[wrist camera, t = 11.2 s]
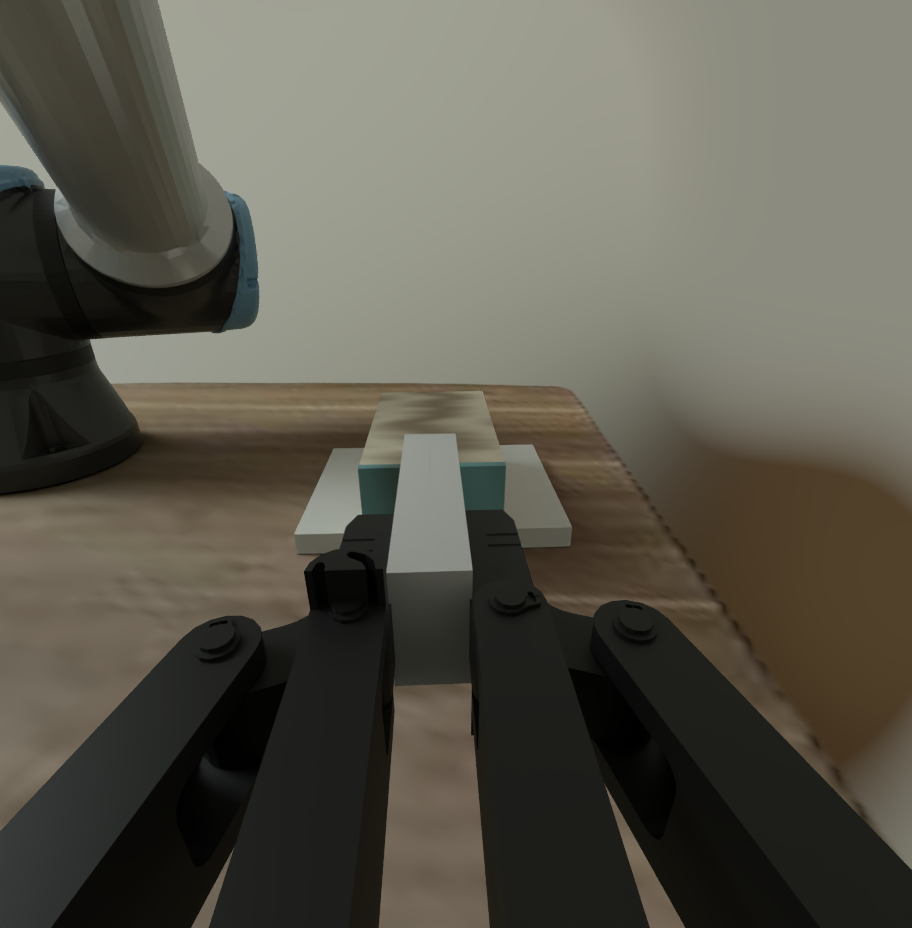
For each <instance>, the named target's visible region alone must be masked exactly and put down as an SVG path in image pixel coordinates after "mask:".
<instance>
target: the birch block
mask: <svg viewBox="0 0 912 928" xmlns="http://www.w3.org/2000/svg"><path fill="white" fill-rule="evenodd" d="M452 433H455V434H456V442H457V450H458V458H459V466H460V474H461V482H462V490H463V498H464V506H465V510H497V509H503V510H504V500H505V478H506V464H505V461H504V458H503V455H502V451H501V448H500V445H499V442H498V439H497V436H496V433H495V430H494V426H493V423H492V420H491V417H490V414H489V411H488V408H487V404H486V401H485V398H484V395H483V392H482V391H469V392H400V393H382V394H381V397H380V400H379V404H378V407H377V410H376V413H375V416H374V419H373V422H372V425H371V429H370V432H369V435H368V438H367V441H366V444H365V447H364V450H363V454H362V457H361V460H360V463H359V466H358V477H359V488H360V498H361V508H362V515H364V514H394V511H395V503H396V496H397V488H398V481H399V473H400V466H401V458H402V450H403V443H404V435H405V434H452Z"/></svg>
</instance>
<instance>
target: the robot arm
mask: <svg viewBox="0 0 912 928" xmlns="http://www.w3.org/2000/svg"><path fill="white" fill-rule="evenodd" d="M0 102H1V103H2V105H3V106H4V108H5V109H6V111H7V112H8V114H9V115H10V117H11V118H12V120H13V121H14V123H15V124H16V126H17V127H18V129H19V130H20V132H21V133H22V135H23V136H24V138H25V139H26V141H27V142H28V144H29V145H30V147H31V148H32V149H33V151H34V153H35V154H36V156H37V157H38V159H39V160H40V162H41V163H42V164H43V166H44V167H45V169H46V171H47V172H48V173H49V175H50V177H51V178H52V180H53V181H54V182H55V184H56V189H45V188H44V184H43V182H42V181H41V180H40V179H39V178H38V176H37V175H36V174H35V173H34V172H33V171H32V170H30V169H27V168H23V167H18V166H8V165H0V493H10V492H17V491H24V490H30V489H35V488H41V487H45V486H50V485H54V484H58V483H62V482H66V481H70V480H73V479H77V478H80V477H83V476H86V475H89V474H92V473H95V472H97V471H100V470H103V469H105V468H107V467H110V466H112V465H114V464H116V463H118V462H120V461H122V460H124V459H125V458H127V457H129V456H130V455H132V454H133V453H134V452H135V451H136V450H137V449H138V448H139V447H140V446H141V444H142V437H141V434H140V430H139V427H138V423H137V421H136V418H135V417H134V415H133V414H132V413H131V412H130V411H129V410H128V408H127V407H126V405H125V404H124V402H123V401H122V399H121V398H120V396H119V395H118V394H117V392H116V391H115V389H114V388H113V387H112V385H111V384H110V383H109V381H108V380H107V378H106V377H105V376H104V374H103V373H102V372H101V370H100V368H99V367H98V365H97V362H96V359H95V356H94V353H93V349H92V346H91V343H90V339H100V338H113V337H129V336H146V335H162V334H179V333H196V332H212V333H221V332H224V331H226V330H233V329H242V328H246V327H248V326H250V325H251V324H252V323H253V322H254V321H255V319H256V317H257V314H258V308H259V285H258V281H257V278H258V262H257V253H256V244H255V237H254V232H253V226H252V221H251V216H250V213H249V209H248V207H247V205H246V203H245V201H244V200H243V199H242V198H241V197H240V196H238V195H236V194H230V193H228V192H226V191H223V189H222V187H221V186H220V184H219V183H218V182H217V180H216V179H215V178H214V177H213V176H212V175H211V174H210V173H209V171H207V170H206V169H205V168H204V167H203V166H202V165H201V164H199V163H198V160H197V155H196V151H195V147H194V143H193V139H192V135H191V131H190V127H189V123H188V120H187V116H186V112H185V108H184V104H183V100H182V96H181V92H180V88H179V84H178V80H177V76H176V72H175V68H174V64H173V60H172V56H171V52H170V48H169V44H168V40H167V36H166V32H165V28H164V25H163V21H162V17H161V12H160V9H159V5H158V1H157V0H0ZM304 575H305V581H306V587H307V593H308V599H309V605H310V612H309V615H308V616H306V617H304V618H303V619H301V620H299V621H297V622H294V623H291V624H288V625H285V626H282V627H278V628H274V629H270V630H267V631H263V632H261V627H260V626H259V625H258V624H257V623H256V622H255V621H254V620H253V619H250V618H247V617H244V616H224V617H221V618H217V619H213V620H210V621H208V622H206V623H204V624H202V625H199V626H197V627H195V628H194V629H193V630H192V631H190V632H189V633H188V634H187V635H185V636H184V637H183V638H182V639H181V640H180V641H179V642H178V643H177V644H176V645H175V646H174V647H173V648H172V649H171V650H170V652H169V653H168V654H167V655H166V656H165V657H164V658H163V659H162V660H161V661H160V662H159V663H158V664H157V665H156V666H155V667H154V668H153V670H152V671H151V672H150V673H149V674H148V675H147V676H146V677H145V678H144V679H143V680H142V681H141V682H140V683H139V684H138V685H137V687H136V688H135V689H134V690H133V691H132V692H131V693H130V694H129V695H128V696H127V697H126V698H125V699H124V700H123V701H122V702H121V704H120V705H119V706H118V707H117V708H116V709H115V710H114V711H113V712H112V713H111V714H110V715H109V716H108V717H107V718H106V719H105V721H104V722H103V723H102V724H101V725H100V726H99V727H98V728H97V729H96V730H95V731H94V732H93V733H92V734H91V735H90V736H89V738H88V739H87V740H86V741H85V742H84V743H83V744H82V745H81V746H80V747H79V748H78V749H77V750H76V751H75V752H74V753H73V755H72V756H71V757H70V758H69V759H68V760H67V761H66V762H65V763H64V764H63V765H62V766H61V767H60V768H59V769H58V770H57V772H56V773H55V774H54V775H53V776H52V777H51V778H50V779H49V780H48V781H47V782H46V783H45V784H44V785H43V786H42V787H41V789H40V790H39V791H38V792H37V793H36V794H35V795H34V796H33V797H32V798H31V799H30V800H29V801H28V802H27V803H26V804H25V806H24V807H23V808H22V809H21V810H20V811H19V812H18V813H17V814H16V815H15V816H14V817H13V818H12V819H11V820H10V821H9V823H8V824H7V825H6V826H5V827H4V828H3V829H2V830H1V831H0V928H191V927H192V925H193V923H194V921H195V919H196V917H197V915H198V914H199V912H200V910H201V908H202V906H203V904H204V902H205V900H206V899H207V897H208V895H209V893H210V891H211V889H212V887H213V885H214V884H215V882H216V880H217V878H218V876H219V874H220V872H221V870H222V869H223V867H224V865H225V863H226V861H227V859H228V857H229V855H230V854H231V852H232V850H233V848H234V850H233V853H232V857H231V860H230V863H229V866H228V869H227V872H226V875H225V879H224V882H223V885H222V888H221V891H220V894H219V897H218V900H217V904H216V907H215V910H214V913H213V916H212V919H211V922H210V926H209V928H379V915H380V902H381V888H382V875H383V861H384V847H385V834H386V820H387V806H388V793H389V779H390V765H391V752H392V738H393V725H394V699H393V685H394V680H395V686H411V685H436V684H460V683H472V712H471V735H474V743H475V755H476V767H477V779H478V791H479V803H480V815H481V827H482V839H483V851H484V863H485V875H486V887H487V899H488V911H489V923H490V928H650V927H649V924H648V921H647V918H646V915H645V911H644V908H643V905H642V902H641V899H640V895H639V892H638V889H637V886H636V883H635V880H634V876H633V873H632V870H631V867H630V864H629V861H628V857H627V854H626V851H625V848H624V845H623V841H622V838H621V835H620V832H619V829H618V826H617V822H616V819H615V816H614V813H613V810H612V806H611V803H610V800H609V797H608V794H607V791H606V787H607V789H608V790H609V792H610V794H611V796H612V798H613V799H614V801H615V803H616V805H617V806H618V808H619V810H620V812H621V814H622V815H623V817H624V819H625V821H626V823H627V824H628V826H629V828H630V830H631V831H632V833H633V835H634V837H635V839H636V840H637V842H638V844H639V846H640V848H641V849H642V851H643V853H644V855H645V856H646V858H647V860H648V862H649V864H650V865H651V867H652V869H653V871H654V872H655V874H656V876H657V878H658V880H659V881H660V883H661V885H662V887H663V889H664V890H665V892H666V894H667V896H668V897H669V899H670V901H671V903H672V905H673V906H674V908H675V910H676V912H677V914H678V915H679V917H680V919H681V921H682V922H683V924H684V926H685V928H912V870H911V869H910V868H909V867H908V866H907V865H906V864H905V863H904V862H903V861H902V860H901V858H900V857H899V856H898V855H897V854H896V853H895V852H894V851H893V850H892V849H891V848H890V847H889V846H888V845H887V844H886V843H885V842H884V841H883V840H882V839H881V838H880V837H879V836H878V835H877V834H876V833H875V832H874V831H873V830H872V829H871V828H870V826H869V825H868V824H867V823H866V822H865V821H864V820H863V819H862V818H861V817H860V816H859V815H858V814H857V813H856V812H855V811H854V810H853V809H852V808H851V807H850V806H849V805H848V804H847V803H846V802H845V801H844V800H843V799H842V798H841V797H840V796H839V795H838V793H837V792H836V791H835V790H834V789H833V788H832V787H831V786H830V785H829V784H828V783H827V782H826V781H825V780H824V779H823V778H822V777H821V776H820V775H819V774H818V773H817V772H816V771H815V770H814V769H813V768H812V767H811V766H810V765H809V764H808V763H807V761H806V760H805V759H804V758H803V757H802V756H801V755H800V754H799V753H798V752H797V751H796V750H795V749H794V748H793V747H792V746H791V745H790V744H789V743H788V742H787V741H786V740H785V739H784V738H783V737H782V736H781V735H780V734H779V733H778V732H777V731H776V730H775V728H774V727H773V726H772V725H771V724H770V723H769V722H768V721H767V720H766V719H765V718H764V717H763V716H762V715H761V714H760V713H759V712H758V711H757V710H756V709H755V708H754V707H753V706H752V705H751V704H750V703H749V702H748V701H747V700H746V699H745V698H744V696H743V695H742V694H741V693H740V692H739V691H738V690H737V689H736V688H735V687H734V686H733V685H732V684H731V683H730V682H729V681H728V680H727V679H726V678H725V677H724V676H723V675H722V674H721V673H720V672H719V671H718V670H717V669H716V668H715V667H714V666H713V665H712V663H711V662H710V661H709V660H708V659H707V658H706V657H705V656H704V655H703V654H702V653H701V652H700V651H699V650H698V649H697V648H696V647H695V646H694V645H693V644H692V643H691V642H690V641H689V640H688V639H687V638H686V637H685V636H684V635H683V634H682V633H681V631H680V630H679V629H678V628H677V627H676V626H675V625H674V624H673V623H672V622H671V621H670V620H669V619H668V618H667V617H665V616H664V615H663V614H661V613H660V612H659V611H657V610H656V609H654V608H652V607H649V606H647V605H645V604H643V603H639V602H633V601H628V600H620V601H611V602H609V603H606V604H604V605H601V606H600V608H599V609H598V610H597V611H596V612H595V614H594V618H592V617H588V616H583V615H578V614H573V613H569V612H566V611H562V610H560V609H557V608H555V607H553V606H551V605H550V604H548V603H547V601H546V599H545V597H544V596H543V594H542V592H541V591H539V590H538V589H537V588H535V587H534V586H533V583H532V579H531V576H530V572H529V569H528V566H527V562H526V559H525V555H524V552H523V549H522V546H521V542H520V538H519V536H518V532H517V528H516V525H515V521H514V520H513V519H512V518H511V517H510V516H509V515H508V514H507V513H506V512H505V511H504V510H503V509H497V510H465V506H464V498H463V490H462V482H461V474H460V466H459V458H458V450H457V442H456V434H455V433H452V434H405V435H404V443H403V450H402V458H401V466H400V473H399V481H398V488H397V496H396V503H395V511H394V514H364V515H357V516H356V517H355V518H354V519H353V520H352V521H351V522H350V523H349V524H348V525H347V526H346V528H345V531H344V535H343V538H342V542H341V545H340V548H339V549H335V550H332V551H330V552H327V553H324V554H322V555H320V556H319V557H317V558H316V559H314V560H313V561H311V562H310V563H309V565H308V566H307V568H306V569H305V571H304ZM604 783H605V784H604ZM605 785H606V787H605ZM234 846H235V847H234Z"/></svg>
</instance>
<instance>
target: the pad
mask: <svg viewBox="0 0 912 928" xmlns="http://www.w3.org/2000/svg"><path fill="white" fill-rule="evenodd" d="M500 448H501V451H502V455H503V458H504V461H505V464H506V478H505V500H504V511H505V512H506V513H507V514H508V515H509V516H510V517H511V518H512V519H513V520H514V521H515V525H516V528H517V532H518V536H519V538H520V542H521V546H522V548H529V547H565V546H570V543H571V534H572V525H571V523H570V521H569V519H568V517H567V515H566V513H565V511H564V509H563V507H562V505H561V503H560V501H559V499H558V496H557V494H556V492H555V490H554V488H553V486H552V484H551V482H550V480H549V478H548V476H547V474H546V472H545V469H544V467H543V465H542V463H541V461H540V459H539V457H538V455H537V453H536V451H535V449H534V447H533V445H500ZM363 450H364V448H334V449H333V451H332V453H331V455H330V457H329V460H328V462H327V464H326V466H325V468H324V471H323V473H322V475H321V477H320V479H319V481H318V484H317V486H316V488H315V490H314V492H313V494H312V497H311V499H310V501H309V503H308V505H307V507H306V510H305V512H304V514H303V516H302V518H301V521H300V523H299V525H298V527H297V529H296V531H295V534H294V537H295V543H296V549H297V554H314V553H327V552H330V551H332V550H335V549H339V548H340V545H341V542H342V538H343V535H344V531H345V528H346V526H347V525H348V524H349V523H350V522H351V521H352V520H353V519H354V518H355V517H356V516H357V515H362V508H361V498H360V488H359V477H358V466H359V463H360V460H361V457H362V454H363Z"/></svg>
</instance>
